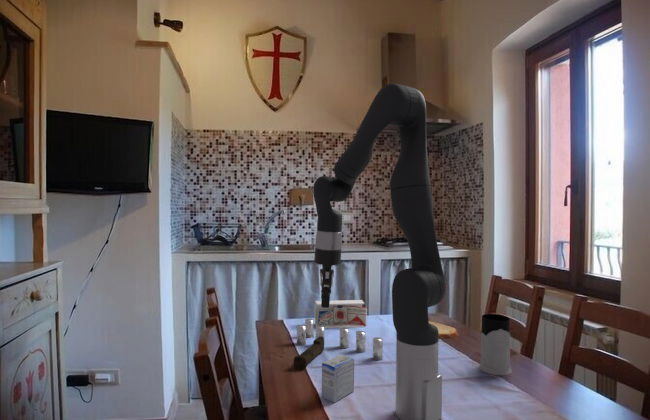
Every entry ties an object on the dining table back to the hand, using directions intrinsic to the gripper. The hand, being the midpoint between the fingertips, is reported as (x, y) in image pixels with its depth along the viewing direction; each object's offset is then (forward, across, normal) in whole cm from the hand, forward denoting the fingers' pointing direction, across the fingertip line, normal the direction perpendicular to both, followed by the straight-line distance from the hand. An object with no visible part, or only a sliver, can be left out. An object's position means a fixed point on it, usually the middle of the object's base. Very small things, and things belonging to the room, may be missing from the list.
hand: (324, 303), depth 118 cm
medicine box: (+19, -16, -4) cm, 25 cm away
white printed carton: (+20, +42, -8) cm, 47 cm away
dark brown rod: (+20, +8, +3) cm, 22 cm away
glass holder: (+17, +3, -50) cm, 53 cm away
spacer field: (+19, +16, -4) cm, 26 cm away
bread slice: (+19, +35, -40) cm, 57 cm away
